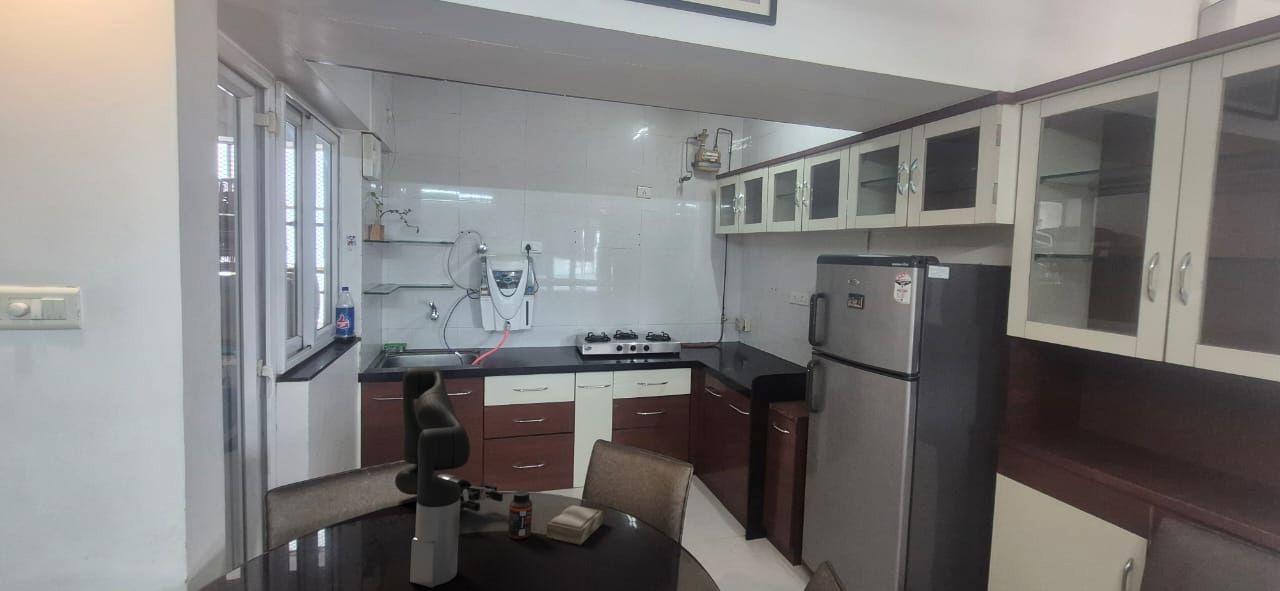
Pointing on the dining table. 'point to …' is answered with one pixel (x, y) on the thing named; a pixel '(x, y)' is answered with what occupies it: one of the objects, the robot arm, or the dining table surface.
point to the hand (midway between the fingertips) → (490, 502)
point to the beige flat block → (574, 524)
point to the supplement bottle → (520, 515)
